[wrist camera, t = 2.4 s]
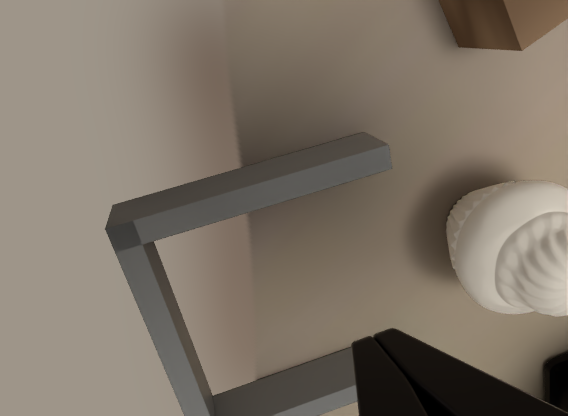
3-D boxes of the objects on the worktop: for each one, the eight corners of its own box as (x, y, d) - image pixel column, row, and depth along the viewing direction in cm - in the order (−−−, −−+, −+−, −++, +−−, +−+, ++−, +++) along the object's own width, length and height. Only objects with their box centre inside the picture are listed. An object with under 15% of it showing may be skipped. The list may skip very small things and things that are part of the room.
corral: (398, 345, 25) (421, 377, 23) (199, 417, 24) (202, 458, 21) (364, 131, 20) (389, 144, 18) (112, 205, 19) (105, 228, 17)
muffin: (419, 286, 24) (509, 378, 18) (416, 173, 22) (520, 232, 15) (525, 259, 25) (647, 338, 19) (533, 149, 23) (676, 195, 16)
